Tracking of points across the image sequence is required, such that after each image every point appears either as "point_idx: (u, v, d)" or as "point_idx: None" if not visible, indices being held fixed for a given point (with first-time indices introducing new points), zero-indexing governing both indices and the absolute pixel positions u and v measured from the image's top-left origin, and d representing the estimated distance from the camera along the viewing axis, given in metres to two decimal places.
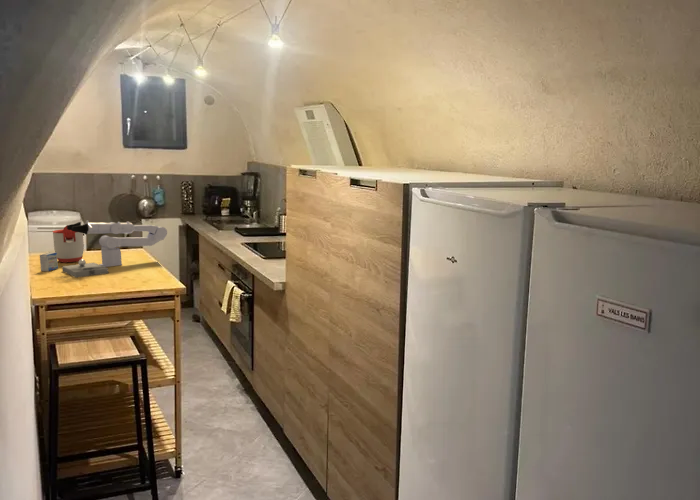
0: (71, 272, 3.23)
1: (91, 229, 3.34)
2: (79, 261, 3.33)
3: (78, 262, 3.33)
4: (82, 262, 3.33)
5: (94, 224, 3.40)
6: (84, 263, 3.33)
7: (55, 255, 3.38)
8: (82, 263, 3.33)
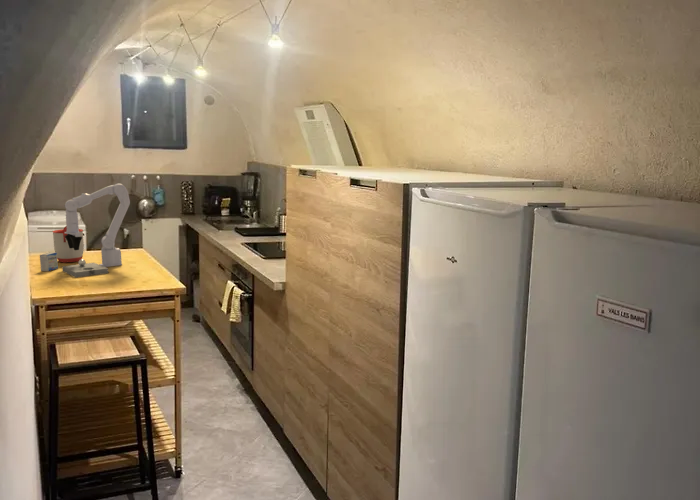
0: (71, 272, 3.23)
1: (77, 234, 3.34)
2: (79, 261, 3.33)
3: (78, 262, 3.33)
4: (82, 262, 3.33)
5: (69, 227, 3.37)
6: (84, 263, 3.33)
7: (55, 255, 3.39)
8: (82, 263, 3.33)
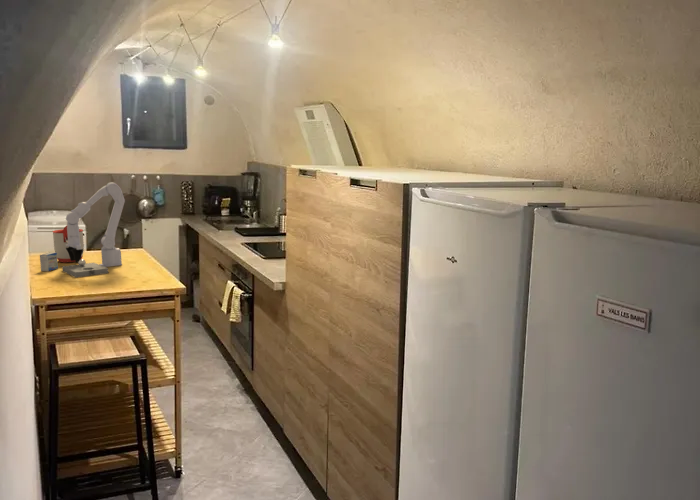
0: (71, 272, 3.23)
1: (78, 247, 3.35)
2: (79, 261, 3.33)
3: (78, 262, 3.33)
4: (82, 262, 3.33)
5: (70, 239, 3.37)
6: (84, 263, 3.33)
7: (55, 255, 3.39)
8: (82, 263, 3.33)
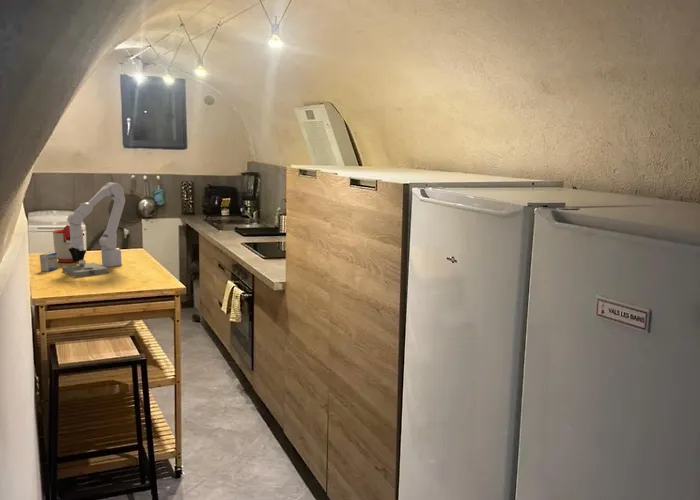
0: (71, 272, 3.23)
1: (81, 248, 3.32)
2: (79, 261, 3.33)
3: (78, 262, 3.33)
4: (82, 262, 3.33)
5: (73, 240, 3.34)
6: (84, 263, 3.33)
7: (55, 255, 3.39)
8: (82, 263, 3.33)
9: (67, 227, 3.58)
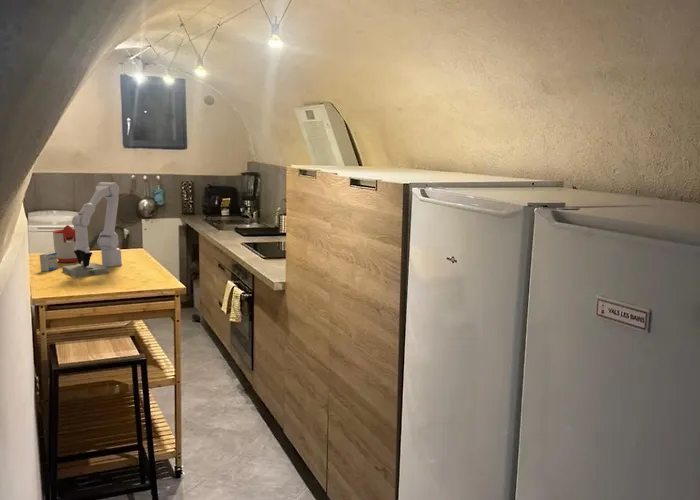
0: (71, 272, 3.23)
1: (87, 250, 3.25)
2: (81, 264, 3.31)
3: (81, 263, 3.31)
4: None
5: (79, 242, 3.28)
6: None
7: (55, 255, 3.38)
8: None
9: (67, 227, 3.58)
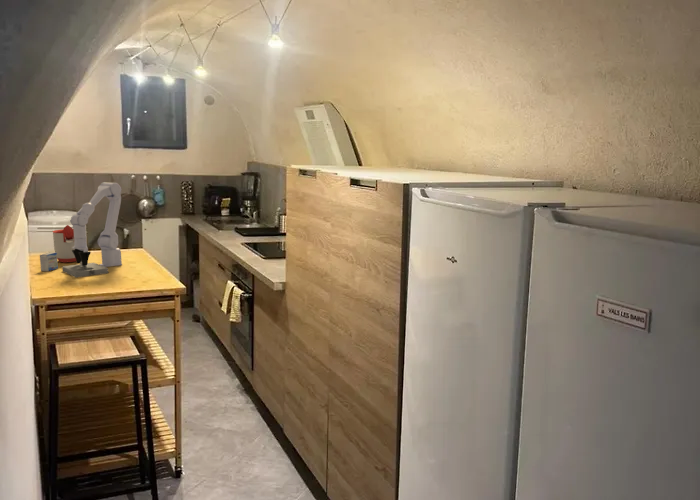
0: (71, 272, 3.23)
1: (85, 249, 3.27)
2: None
3: (80, 263, 3.32)
4: None
5: (77, 242, 3.29)
6: None
7: (55, 255, 3.39)
8: None
9: (67, 227, 3.58)
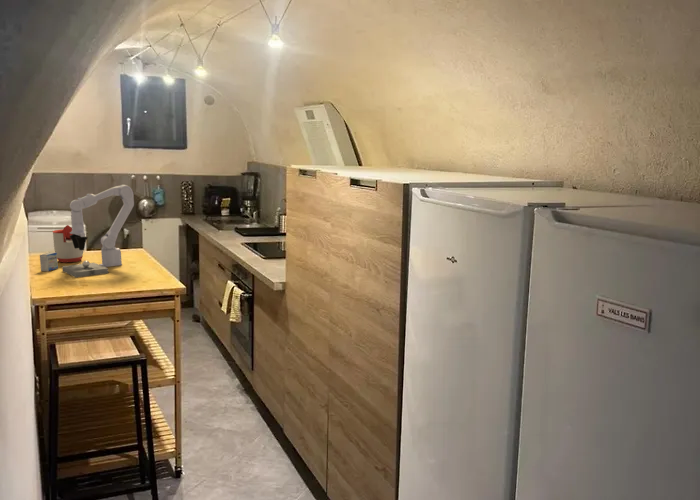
0: (71, 272, 3.23)
1: (82, 234, 3.34)
2: (82, 263, 3.30)
3: (82, 264, 3.29)
4: None
5: (74, 227, 3.36)
6: None
7: (55, 255, 3.38)
8: (84, 261, 3.31)
9: (67, 227, 3.58)
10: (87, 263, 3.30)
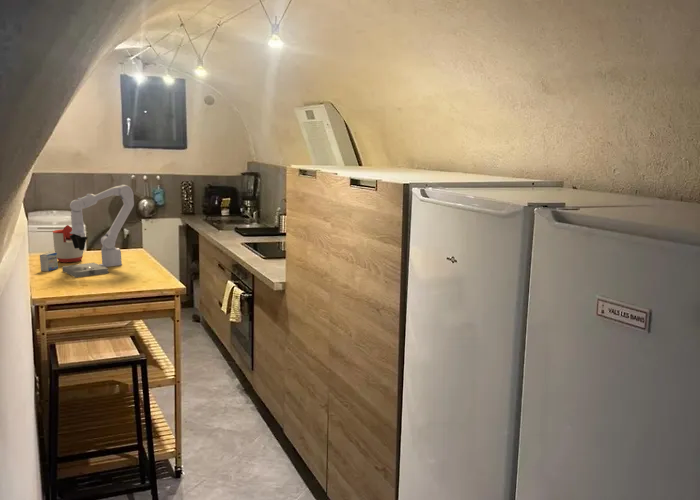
0: (71, 272, 3.23)
1: (82, 234, 3.34)
2: None
3: None
4: None
5: (74, 227, 3.36)
6: None
7: (55, 255, 3.39)
8: None
9: (67, 227, 3.58)
10: None
